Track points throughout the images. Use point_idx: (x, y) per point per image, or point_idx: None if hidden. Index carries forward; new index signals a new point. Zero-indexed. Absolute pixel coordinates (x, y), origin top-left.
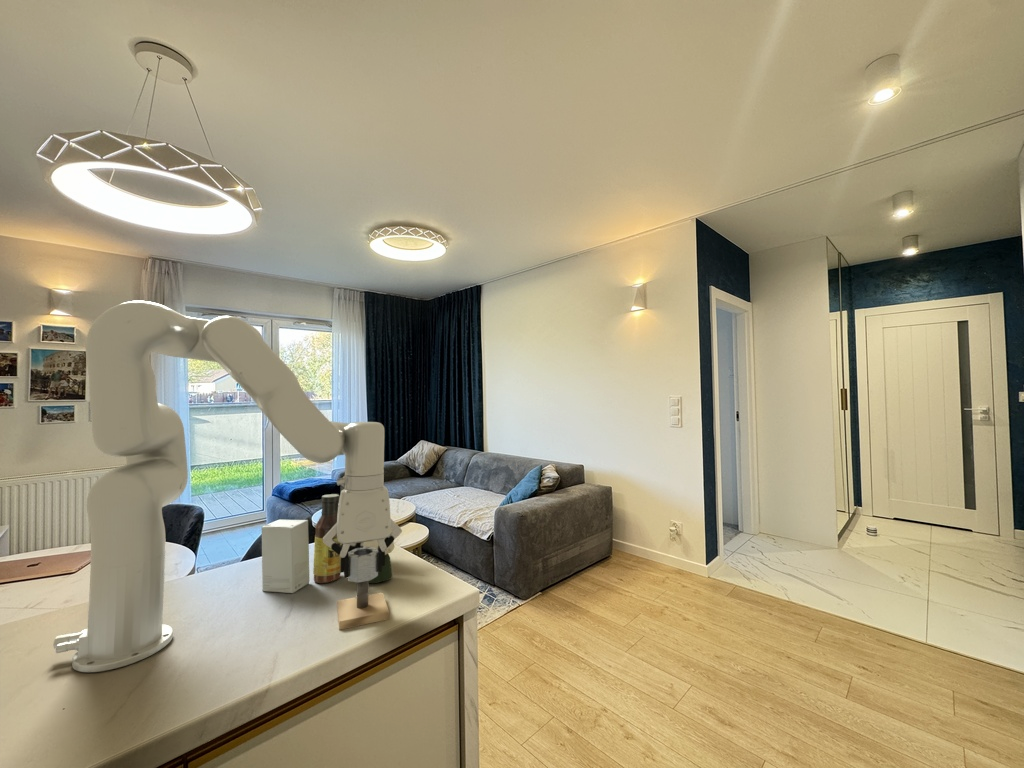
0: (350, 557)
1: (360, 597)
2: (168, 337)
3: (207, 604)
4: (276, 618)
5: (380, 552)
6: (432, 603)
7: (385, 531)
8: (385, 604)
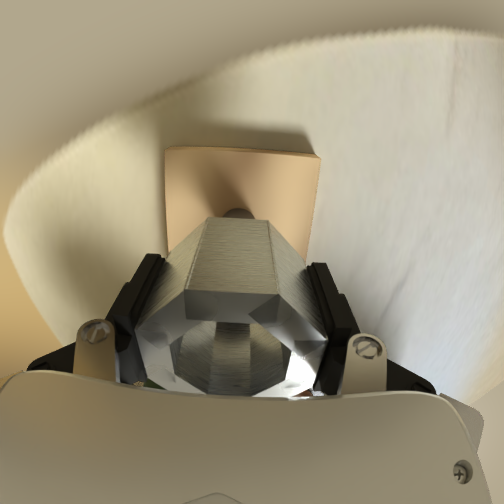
0: (318, 328)
1: None
2: None
3: (458, 365)
4: (417, 286)
5: (122, 319)
6: (56, 190)
7: (11, 412)
8: (168, 201)
